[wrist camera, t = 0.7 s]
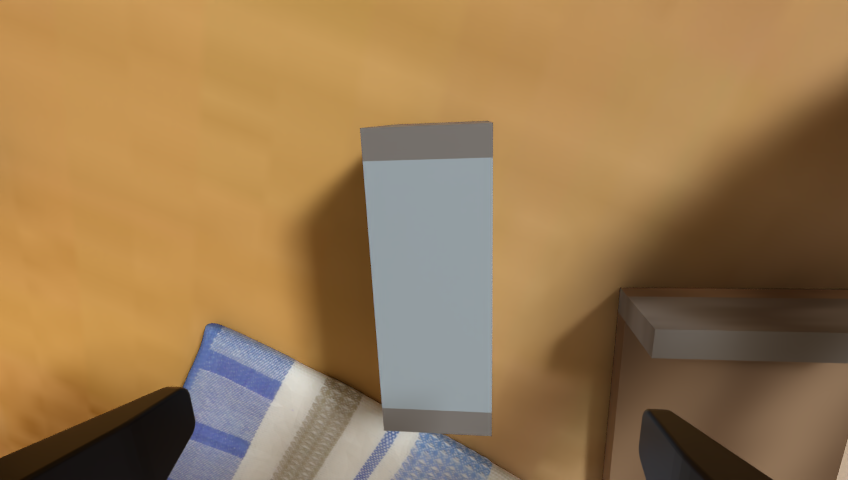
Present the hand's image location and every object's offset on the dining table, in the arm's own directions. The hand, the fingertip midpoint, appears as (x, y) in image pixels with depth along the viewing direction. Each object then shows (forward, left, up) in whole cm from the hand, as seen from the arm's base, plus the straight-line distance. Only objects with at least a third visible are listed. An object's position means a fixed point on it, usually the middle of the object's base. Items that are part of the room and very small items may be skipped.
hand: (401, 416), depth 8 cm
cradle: (-13, +10, -12) cm, 20 cm away
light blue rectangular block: (0, 0, -12) cm, 12 cm away
